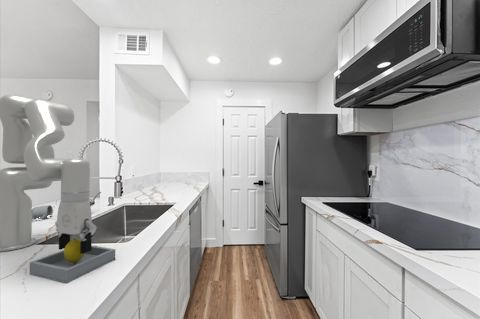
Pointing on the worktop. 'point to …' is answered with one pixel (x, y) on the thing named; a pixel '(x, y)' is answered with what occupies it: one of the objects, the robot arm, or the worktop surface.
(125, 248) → the worktop surface
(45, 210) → the ceramic mug
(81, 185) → the robot arm
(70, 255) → the lemon
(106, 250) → the tray
